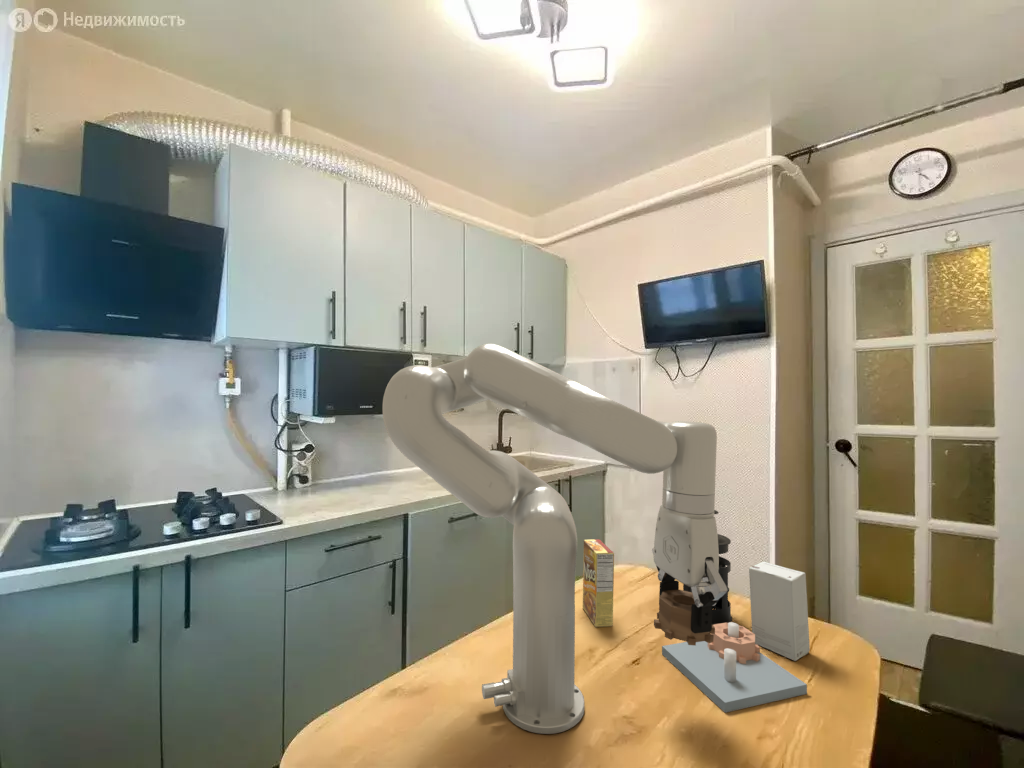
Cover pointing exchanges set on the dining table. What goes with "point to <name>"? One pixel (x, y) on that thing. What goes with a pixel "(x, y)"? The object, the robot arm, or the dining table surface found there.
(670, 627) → the walnut gear
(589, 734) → the dining table surface
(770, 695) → the gear board
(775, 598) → the skincare box
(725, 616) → the french press
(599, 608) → the candy box
